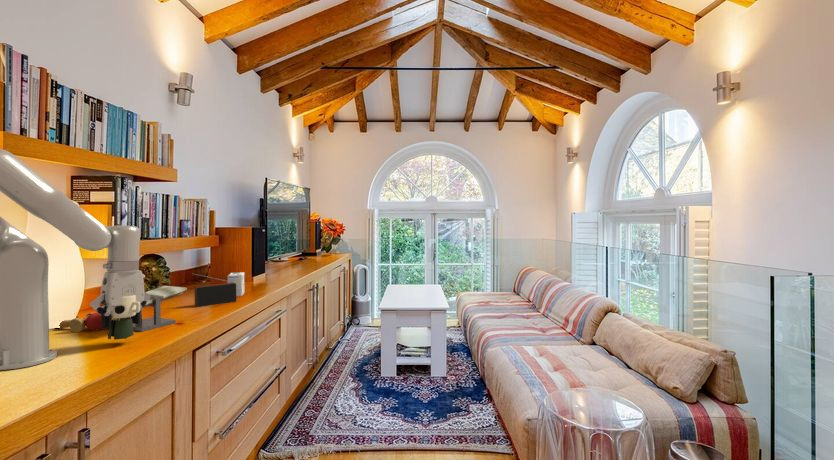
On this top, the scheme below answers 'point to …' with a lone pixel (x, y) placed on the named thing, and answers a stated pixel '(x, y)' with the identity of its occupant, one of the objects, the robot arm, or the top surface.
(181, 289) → the beam
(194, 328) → the top surface
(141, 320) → the stand
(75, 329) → the kendama
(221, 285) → the radio
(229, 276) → the light bulb box
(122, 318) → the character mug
